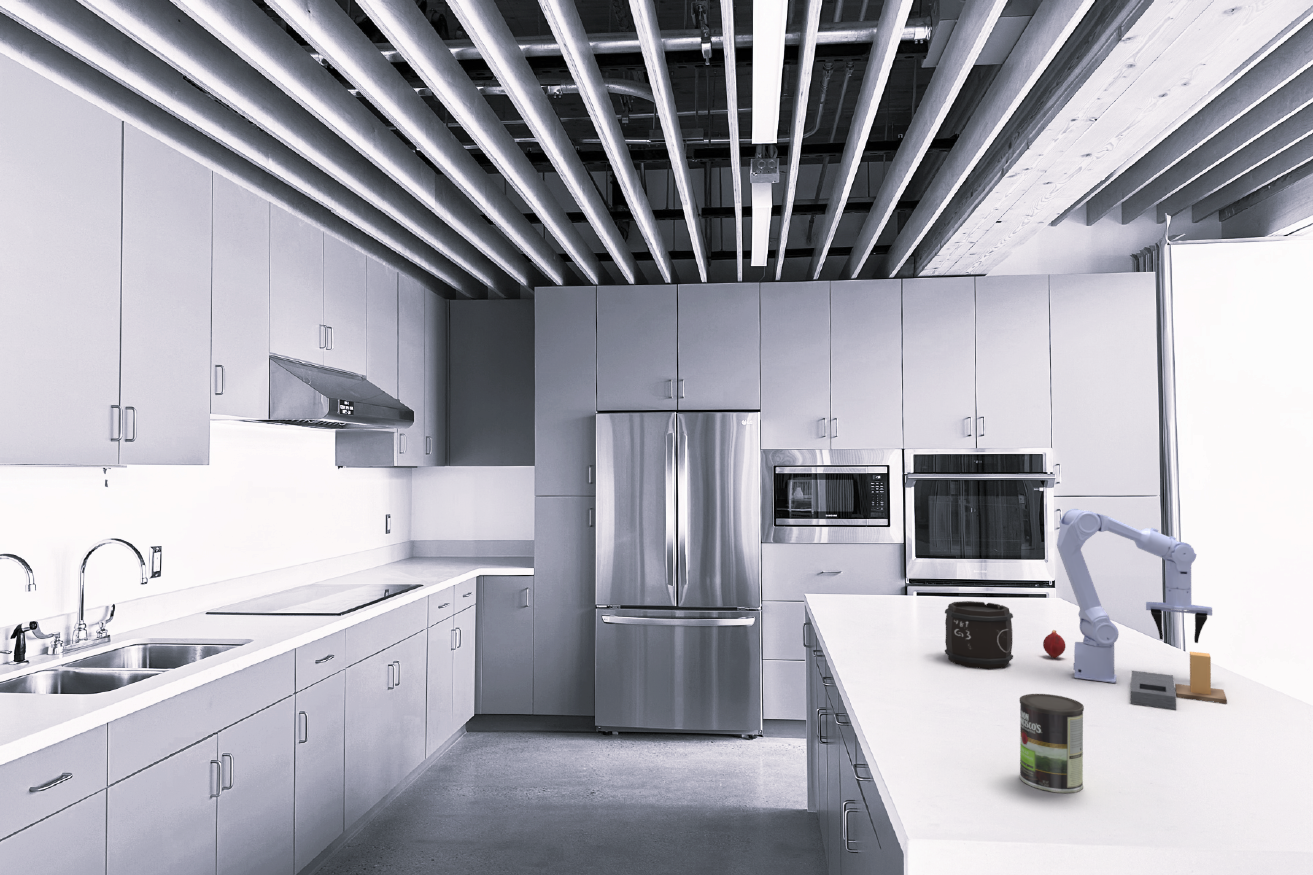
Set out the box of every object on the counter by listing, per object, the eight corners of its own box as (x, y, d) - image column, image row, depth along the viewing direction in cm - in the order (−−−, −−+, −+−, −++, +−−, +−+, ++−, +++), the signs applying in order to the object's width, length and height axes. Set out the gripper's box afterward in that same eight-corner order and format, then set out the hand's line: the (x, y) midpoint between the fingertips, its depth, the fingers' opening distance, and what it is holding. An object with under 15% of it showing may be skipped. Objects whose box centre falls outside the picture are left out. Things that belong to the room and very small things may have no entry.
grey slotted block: (1130, 703, 196) (1130, 690, 196) (1131, 682, 215) (1131, 670, 215) (1176, 709, 191) (1175, 696, 191) (1173, 687, 210) (1172, 675, 210)
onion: (1068, 661, 237) (1067, 632, 237) (1046, 659, 238) (1046, 631, 238) (1062, 656, 242) (1062, 628, 242) (1041, 655, 243) (1041, 627, 244)
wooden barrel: (1010, 657, 241) (1010, 602, 241) (1015, 672, 224) (1015, 613, 224) (944, 652, 247) (944, 598, 247) (944, 666, 230) (944, 608, 230)
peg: (1191, 692, 202) (1190, 654, 202) (1189, 688, 206) (1189, 651, 206) (1210, 694, 200) (1210, 656, 200) (1209, 690, 204) (1209, 653, 204)
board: (1176, 697, 201) (1176, 693, 201) (1175, 687, 210) (1175, 683, 210) (1226, 703, 196) (1226, 699, 196) (1223, 693, 205) (1223, 689, 205)
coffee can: (1039, 794, 142) (1039, 710, 143) (1008, 771, 152) (1008, 693, 153) (1096, 792, 143) (1096, 709, 143) (1062, 770, 153) (1062, 692, 154)
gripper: (1145, 587, 217) (1146, 639, 217) (1212, 592, 210) (1213, 646, 209) (1145, 583, 223) (1146, 635, 223) (1211, 588, 216) (1211, 641, 215)
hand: (1178, 640), depth 216 cm, fingers open, 7 cm apart
